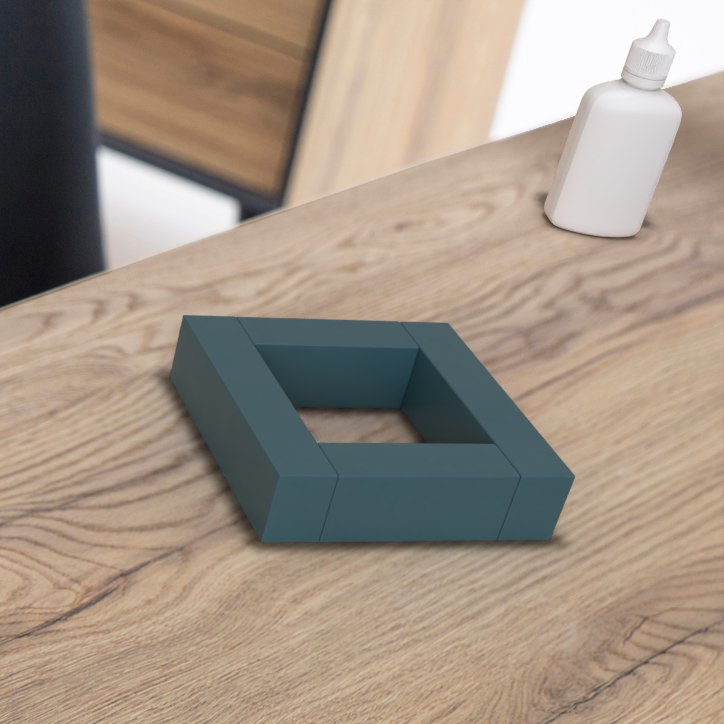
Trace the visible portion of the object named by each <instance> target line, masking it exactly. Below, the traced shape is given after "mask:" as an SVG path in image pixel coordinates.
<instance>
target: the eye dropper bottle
mask: <svg viewBox="0 0 724 724" xmlns="http://www.w3.org/2000/svg"><path fill="white" fill-rule="evenodd" d="M670 26H671V21H670V20H668V19H666V18H665V19H664V18H657V19H656V20H655V23H654V25H653V26H652V28H651V30H650V32H649V33H648V34H647V35H646V36H645V37H639V38H636V39H634V40H632V42H631V45H630V48H629V50H628V53H627V56H626V59H625V62H624V65H623V67H622V70H621V72H620V77H621V78H619V79H613V80H608V81H605V82H600V83H597V84H595V85H592V86H591V87H589V88H587V90H586V91H585V92H584V93H583V96H582V97H581V100H580V102H579V105H578V108H577V110H576V113H575V115H574V118H573V121H572V124H571V127H570V129H569V132H568V135H567V138H566V142H565V143H564V146H563V149H562V153H561V155H560V157H559V160H558V164H557V166H556V169H555V172H554V176H553V178H552V181H551V184H550V187H549V190H548V191H547V196H546V198H545V201H544V204H543V211H544V214H545V215H546V217H547V218H548V220H549V221H550V223H551V224H552V225H554V226H555V227H557V228H560V229H563V230H566V231H570V232H573V233H578V234H583V235H588V236H594V237H603V238H628V237H629V238H630V237H633V236H635V235H636V234H638V233H639V232H640V230H641V228H642V225H643V223H644V220H645V218H646V214H647V213H648V210H649V207H650V205H651V202H652V199H653V197H654V194H655V191H656V189H657V186H658V184H659V180H660V179H661V176H662V173H663V171H664V168H665V165H666V164H667V163H666V162H667V160H668V157H669V155H670V152H671V150H672V148H673V145H674V142H675V140H676V137H677V133H678V131H679V128H680V125H681V122H682V118H683V117H682V116H683V111H682V108H681V106H680V104H679V102H678V100H676V99H675V97H674V96H673V95H671V94H670V93H669V92H667V91H666V90H664V89H662V88H663V87H664V86H665V83H666V81H667V78H668V75H669V73H670V70H671V67H672V64H673V62H674V59H675V56H676V54H677V51H676V50H675V48H674V46H672V45H671V44H670V43H669V41H668V38H669V31H670Z"/></svg>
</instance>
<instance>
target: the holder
mask: <svg viewBox="0 0 724 724" xmlns="http://www.w3.org/2000/svg"><path fill="white" fill-rule="evenodd" d="M177 336H178V337H177V341H176V344H175V350H174V355H173V359H172V363H171V369H170V373H169V380H170V382H171V383H172V385H173V387H174V389H175V391H176V392H177V394H178V396H179V397H180V399H181V401H182V403H183V405H184V407H185V408H186V411H187V412H188V414H189V415H190V417H191V420H192V421H193V423H194V425H195V426H196V428H197V430H198V432H199V434H200V435H201V437H202V439H203V441H204V442H205V445H206V446H207V449H208V450H209V452H210V454H211V455H212V457H213V459H214V460H215V462H216V464H217V466H218V468H219V469H220V471H221V473H222V475H223V477H224V478H225V480H226V482H227V484H228V486H229V488H230V489H231V491H232V493H233V495H234V497H235V498H236V501H237V502H238V503H239V506H240V507H241V509H242V511H243V513H244V515H245V516H246V519H247V520H248V522H249V524H250V525H251V527H252V529H253V531H254V532H255V534H256V537H257V538H258V540H259V542H260V543H319V542H321V543H349V542H351V543H352V542H353V543H355V542H359V543H360V542H361V543H363V542H451V541H452V542H453V541H454V542H456V541H457V542H459V541H462V542H463V541H467V542H468V541H551V539H552V537H553V534H554V531H555V529H556V527H557V524H558V522H559V519H560V517H561V514H562V512H563V509H564V506H565V503H566V502H567V499H568V497H569V494H570V491H571V489H572V486H573V484H574V482H575V478H576V475H575V473H574V472H573V471H572V470H571V469H570V468H569V467H568V466H567V464H566V463H565V462H564V460H563V459H562V458H561V457H560V456H559V455H558V453H557V452H556V451H555V450H554V449H553V448H552V446H551V445H550V444H549V442H548V441H547V440H546V439H545V438H544V436H543V435H542V434H541V433H540V432H539V431H538V429H537V428H536V426H534V424H533V423H532V422H531V421H530V420H529V418H528V417H527V416H526V415H525V413H524V412H523V411H522V410H521V409H520V408H519V406H518V405H517V404H516V402H514V400H513V399H512V398H511V397H510V396H509V394H508V393H507V391H505V389H504V388H503V387H502V385H500V383H499V382H498V381H497V380H496V379H495V378H494V376H493V375H492V374H491V373H490V371H489V370H488V369H487V368H486V367H485V366H484V364H483V363H482V362H481V361H480V359H479V358H478V357H477V356H476V355H475V353H474V352H473V351H472V350H471V349H470V347H469V346H468V345H467V343H466V342H465V341H464V340H463V339H462V338H461V337H460V336H459V334H458V333H457V332H456V330H455V329H454V328H453V326H451V324H450V323H449V322H435V321H434V322H433V321H399V320H368V319H334V318H333V319H330V318H329V319H328V318H301V317H300V318H297V317H293V318H292V317H265V316H261V317H259V316H257V317H256V316H234V315H232V316H231V315H200V314H197V315H196V314H183V315H182V317H181V323H180V328H179V332H178V335H177ZM296 408H331V409H332V408H339V409H340V408H341V409H401V410H402V412H403V413H404V414H405V416H406V417H407V419H408V420H409V422H410V423H411V424H412V426H413V427H414V429H415V430H416V431H417V432H418V434H419V435H420V436H421V438H422V439H423V440H424V443H423V442H422V443H421V442H417V443H415V442H414V443H413V442H403V443H402V442H317V440H316V439H315V437H314V436H313V434H312V433H311V431H310V430H309V428H308V427H307V425H306V424H305V422H304V421H303V419H302V417H301V415H300V414H299V413H298V411H297V410H296Z"/></svg>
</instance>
